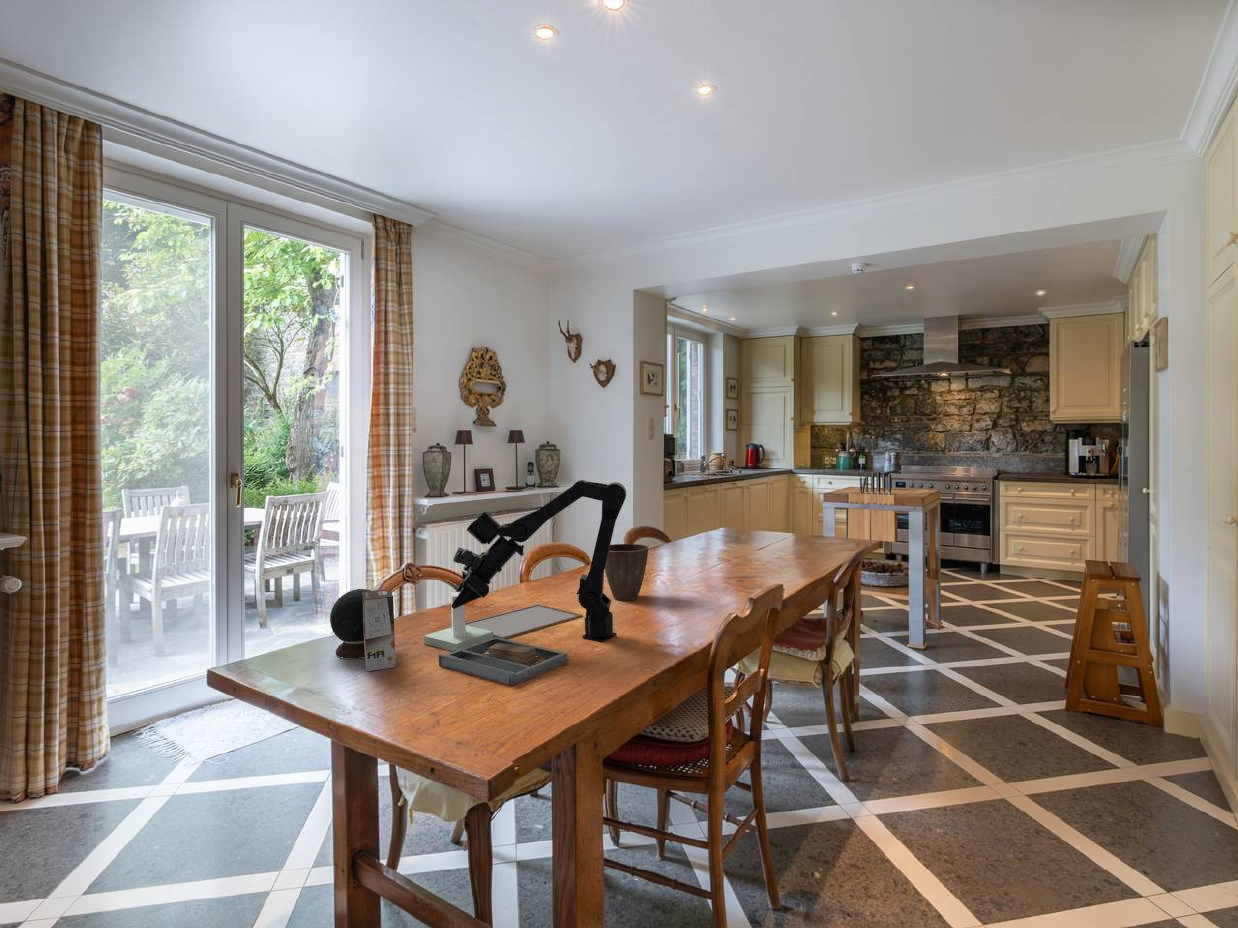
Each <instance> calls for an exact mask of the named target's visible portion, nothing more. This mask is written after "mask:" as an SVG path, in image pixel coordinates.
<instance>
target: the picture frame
mask: <svg viewBox="0 0 1238 928" xmlns="http://www.w3.org/2000/svg"><path fill="white" fill-rule="evenodd" d="M583 616H584V615H583V614H582V613H577V612H572V611H570V610H569V611H567V610H564V609H561V608H560V609H559V608H556V607H551V606H546V605H542V604H538V603H537V604H534V605H529V606H526V607H522V608H518V609H517V608H516V609H513V610H510V611H505V612H503V613H498V614H495V615H490V616H486V617H482V618H478V619H475V620H471V621H467V622H466V626H471V627H475V628H480V629H484V630H489V631H493V637H498V638H502V639H507V640H509V639H511V638H514V636H515V637H518V636H522V635H525V634H528V633H531V631H532V632H535V631H538V630H537V629H539V630H541V629H540V628H542V629H545V628H544V627H546V628H548V626H549V627H552V626H555V625H554V624H556V625H558V624H557V623H559V624H562V623H561V622H563V623H565V622H564V621H566V622H569V621H572V620H571V619H573V620H576V619H578V618H583ZM568 620H569V621H568ZM551 625H552V626H551ZM534 630H535V631H534ZM524 633H525V634H524ZM521 634H522V635H521Z"/></svg>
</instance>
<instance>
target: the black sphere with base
mask: <svg viewBox="0 0 1238 928" xmlns="http://www.w3.org/2000/svg"><path fill="white" fill-rule="evenodd" d="M367 591H372V590H370V589H365V588H356V589H353V590H350V591H347V592H345V593H344V594H342V595H341V596H339V598H338V599H337V600H336V601H335V602H334V604H333V606H332V608H331V611H330V613H329V615H330V616H329V622H330V627H331V630H332V633H334V635H335V636H336V637H337V638H338V639H339V640H340V641H342V643H340V644H339V645H338V647H337V648H336V650H335V656H336V655H337V656H339V657H343V658H342V659H345V658H357V659H363V658H362V657H365V650H364V626H363V592H367ZM337 656H336V657H337ZM339 657H338V658H339Z"/></svg>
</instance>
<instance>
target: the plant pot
mask: <svg viewBox="0 0 1238 928" xmlns="http://www.w3.org/2000/svg"><path fill="white" fill-rule="evenodd" d="M648 555H649V546H648V545H644V544H637V543H620V544H619V543H616V544H615V543H614V544H610V548H609V552H608V556H607V560H606V565H605V569H604V574H605V576H606V579H607V580H606V581H607V583H608V586H609V588H610V591H611V592H610V593H611V594H612V597H613V599H614V600H617V601H623V602H624V601H626V602H627V601H633V600H637V599H638V597H639V594H640V592H641V588H642V586H643V585H642V584H643V583H644V582H643V581H644V579H645V575H646V574H645V573H646V568H647V563H648Z"/></svg>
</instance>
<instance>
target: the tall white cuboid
mask: <svg viewBox="0 0 1238 928" xmlns="http://www.w3.org/2000/svg"><path fill="white" fill-rule="evenodd" d="M459 593H460V592H456V591H451V592H450V603H451V604H450V607H451V605H452V604H453V602H454V600H455V599H456V597H457V596H458V595H459ZM450 611H451V627H452V633H453V637H459V636H466V604H464V605H462V606H460V607H458V608H455V609H453V608H452V607H451V609H450Z"/></svg>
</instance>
